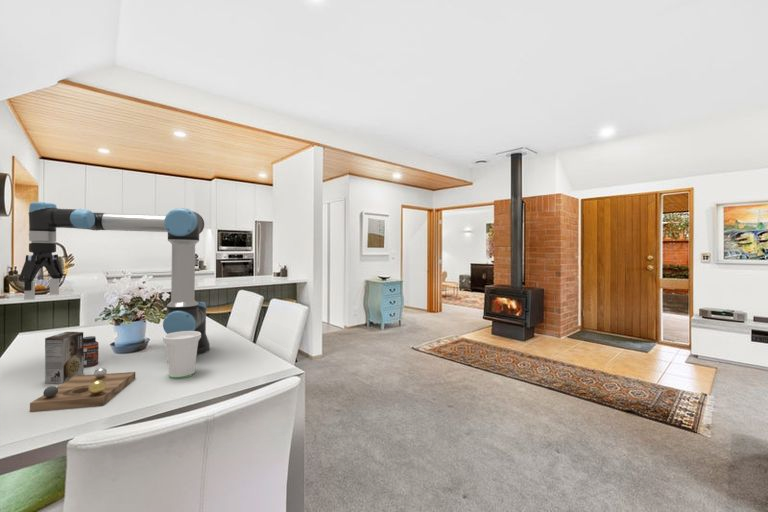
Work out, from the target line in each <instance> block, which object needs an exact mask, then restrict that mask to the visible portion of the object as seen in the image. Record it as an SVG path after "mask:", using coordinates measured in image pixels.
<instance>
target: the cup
mask: <svg viewBox="0 0 768 512" xmlns="http://www.w3.org/2000/svg"><path fill="white" fill-rule="evenodd" d="M200 338H201V333H200V332H198V331H181V332H174V333H169V334H167V333H166V334H164V335H163V337H162V340H163V343H164V344H165V349H166V357H167V365H168V373H169V374H168V376H169V379H172V380H174V379H175V380H178V379H180V380H181V379H184V378H185V379H186V378H189V377H192V376H193V375H195V373H196V369H195V368H196V361H197V355H198V354H197V347H198V341H199V339H200Z"/></svg>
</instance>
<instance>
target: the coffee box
mask: <svg viewBox="0 0 768 512" xmlns="http://www.w3.org/2000/svg"><path fill="white" fill-rule="evenodd" d="M83 338H84V332H83V331H81V332H80V331H79V332H78V331H64V332H61V333H57V334H54V335H52V336H48V337H45V338H44V351H45V352H44V364H45V365H44V375H45V376H44V383H45V385H49V384H51V385H52V384H63V383H65V382H66V381H68V380H70V379H72V378H73V377H75V376H79V375H85V372H84V368H85V367H84V349H83Z"/></svg>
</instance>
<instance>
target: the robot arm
mask: <svg viewBox="0 0 768 512" xmlns="http://www.w3.org/2000/svg"><path fill="white" fill-rule="evenodd" d="M28 210H29V211H28V228H29V229H28V241H29V243H28V252H29V253H32V254H26V255H25V260H24V264H23V266H22V269H21V272H20V273H19V277H18V281H19V282H21V283H23V288H24V289H23V291H24V292H23V293H24V297H23V299H24V300H26V301H27V300H35V299H36V295H35V294H36V292H35V291H36V282H35V277H36V276H37V274H38V273H39V271H40V270H41V268H43V267H44V268H45V270H46V271H47V273H48V274H49V276H50V278H49V295H50V296H51V295H52V296H53V295H55V296H58V295H60V279H63V278H64V277H63V276H64V274H63V270H62V266H61V264H60V260H59V254H53V253H56V252H57V244H56V242H57V229H59V228H60V229H63V228H64V229H78V230H90V231H120V232H121V231H122V232H123V231H125V232H152V233H154V232H155V233H156V232H157V233H167V241H168V242H169V243H170V244H171V283H170V284H171V285H170V286H171V289H170V291H171V292H170V293H171V294H170V296H171V297H170V299H171V300H170V302H169V303H167V305H166V315H165V316H164V319H163V320H162V321H163V322H162V328H163V330H164V332H165V333H166V334H169V333H174V332H181V331H198V332H200V333H201V338H200V339H199V341H198V347H197V355H199V354H203V353H206V352H209V350H210V349H211V348H210V347H211V346H210V341H209V338H208V335H207V333H206V332H207V331H206V330H207V329H206V328H207V326H206V324H207V305H206V302H205V301H196V300H195V294H196V293H195V292H196V291H195V286H196V284H195V283H196V282H195V281H196V280H195V279H196V278H195V277H196V245H197V244H198V243H199V242H200V234H201V233H202V232H203V230H204V228H205V220H204V219H203V216H202V215H200V214H199V213H198V212H196V211H193V210H191V209H189V208H185V207H184V208H183V207H181V208H180V207H178V208H174V209H172V210H169V212H168V213H166V215H164V214H163V215H161V214H137V213H112V212H111V213H110V212H108V213H107V212H92V211H91V210H89V209H81V208H77V209H76V208H74V209H73V208H58V207H57V205H56V204H55V203H51V202H42V201H32V202H30V204H29V207H28Z"/></svg>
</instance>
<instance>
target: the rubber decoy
mask: <svg viewBox="0 0 768 512" xmlns="http://www.w3.org/2000/svg"><path fill="white" fill-rule="evenodd" d="M57 387H58V386H54V385H50V386H47V387H46V388H45V389H44V390H43V395H44V396H45V397H53V396H55V395H56V394H57V393H58V388H57Z"/></svg>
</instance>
